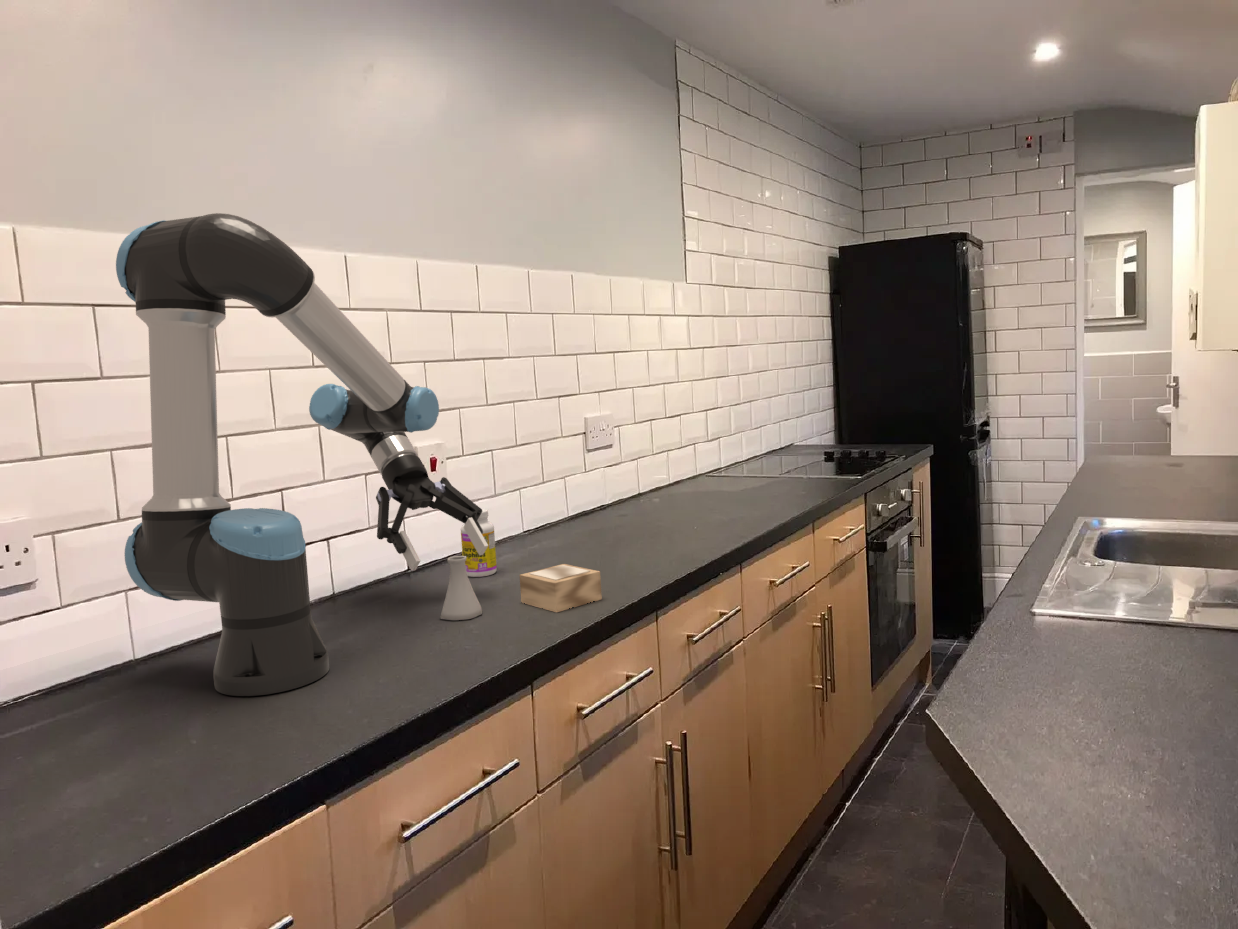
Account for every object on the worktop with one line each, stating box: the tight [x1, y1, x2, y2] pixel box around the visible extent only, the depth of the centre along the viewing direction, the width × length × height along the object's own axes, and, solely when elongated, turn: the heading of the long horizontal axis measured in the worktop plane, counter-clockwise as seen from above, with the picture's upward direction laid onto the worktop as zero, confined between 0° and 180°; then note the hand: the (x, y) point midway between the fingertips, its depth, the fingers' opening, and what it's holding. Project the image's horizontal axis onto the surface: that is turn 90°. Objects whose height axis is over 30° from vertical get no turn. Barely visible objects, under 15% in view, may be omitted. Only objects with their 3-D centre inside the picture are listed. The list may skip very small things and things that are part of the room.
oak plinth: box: [519, 563, 603, 613], centre depth 159 cm, size 10×10×5 cm
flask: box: [439, 555, 483, 621], centre depth 153 cm, size 7×7×10 cm
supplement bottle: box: [460, 508, 498, 578], centre depth 183 cm, size 7×7×13 cm
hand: (451, 558), depth 157 cm, fingers open, 13 cm apart
